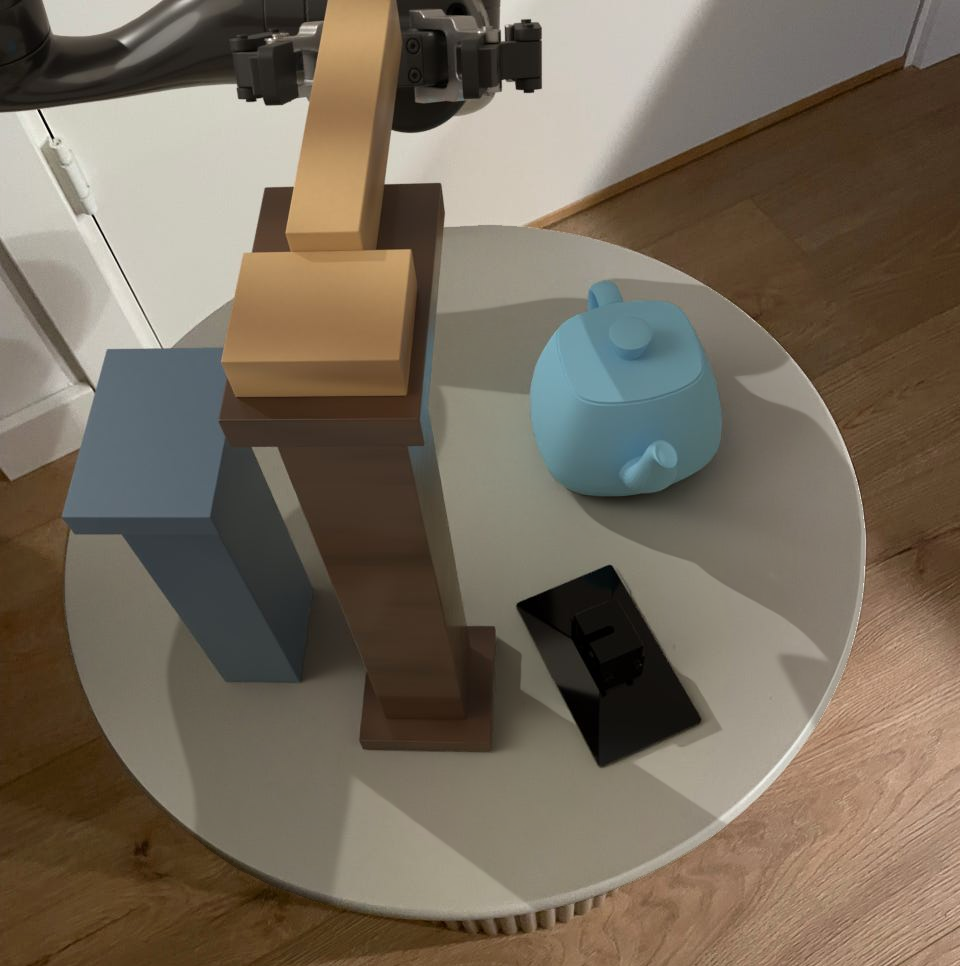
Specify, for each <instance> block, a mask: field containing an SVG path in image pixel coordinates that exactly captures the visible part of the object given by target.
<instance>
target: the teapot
mask: <svg viewBox="0 0 960 966" xmlns="http://www.w3.org/2000/svg"><path fill="white" fill-rule="evenodd" d="M623 299H624V298H623V296H622V293H621V291H620V289H619V286H618V285H617V284H616V283H615V282H614V281H612V280H600V281H597V282H594V283H593V284H592V285H590V287H589V288H588V291H587V310H586V311H583V312H581V313H578V314H576V315H573V316H572V317H569V318H568V319H567V320H565V321H564V322H563V323H561V325H559V327H557V329H556V330H555V332H554V333H553V334H552V335H551V337H550V339H549V340H548V341H547V343H546V345H545V346H544V348H543V350H542V351H541V353H540V355H539V358H538V359H537V361H536V364H535V367H534V369H533V376H532V379H531V383H530V390H529V413H530V419H531V421H530V422H531V427H532V432H533V436H534V440H535V444H536V446H537V448H538V451H539V453H540V455H541V458H542V461H543V463H544V464H545V466H546V469H547V470H548V472H549V474H550V475H551V476H552V478H553V479H555V481H556V482H558V483H559V484H561V485H562V486H563V487H564V488H566V489H567V490H570V491H572V492H573V493H577V494H580V495H585V496H593V497H626V496H635V495H640V494H652V493H656V492H661V491H663V490H666V489H667V488H669V487H670V486H671V485H673V484H676V483H678V482H680V481H682V480H684V479H686V478H688V477H690V476H691V475H694V474H695V473H697V472H698V471H700V470H702V469H703V468H704V467H705V466H707V464H709V463H710V462H711V461H712V459H713V457H714V456H715V455H716V454H717V452H718V449H719V447H720V446H721V445H720V444H721V439H722V430H723V415H722V408H721V400H720V396H719V395H720V394H719V391H718V386H717V381H716V378H715V374H714V371H713V368H712V365H711V362H710V360H709V358H708V355H707V353H706V351H705V348H704V346H703V343H702V342H701V340H700V338H699V335H698V334H697V332H696V330H695V328H694V327H693V325H692V322H691V321H690V319H689V317H688V315H687V314H686V313H685V311H684V310H683V309H682V308H681V307H680V306H678V305H676V304H674V303H672V302H669V301H663V300H654V299H652V300H650V299H649V300H645V299H643V300H629V301H628V300H627V301H624V300H623Z"/></svg>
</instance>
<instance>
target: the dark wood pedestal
mask: <svg viewBox="0 0 960 966" xmlns="http://www.w3.org/2000/svg"><path fill="white" fill-rule="evenodd" d="M293 189H294V186H267V187H264V188H263V194H262V198H261V204H260V208H259V213H258V217H257V218H258V219H257V224H256V229H255V234H254V239H253V244H252V248H251V253H259V252H291V250H290V247H289V243H288V240H287V237H286V227H287V222H288V216H289V211H290V205H291V200H292V195H293ZM445 218H446V210H445V201H444V194H443V185H442V183H441V182H419V183H418V182H416V183H385V184H384V192H383V200H382V208H381V216H380V224H379V232H378V240H377V247H376V250H402V249H411V250H412V256H413V262H414V268H415V274H416V280H417V286H418V290H417V300H416V310H415V320H414V330H413V340H412V350H411V360H410V370H409V380H408V390H407V395H406V396H312V397H236V396H235V394H234V392H233V389H232V387H231V384H230V382H229V380H228V377H227V378H226V383H225V388H224V393H223V398H222V403H221V408H220V413H219V418H218V422H219V425H220V427H221V429H222V431H223V433H224V435H225V437H226V440H227V442H228V444H229V446H230V447H252V448H277V450H278V453H279V455H280V458H281V460H282V463H283V465H284V468H285V470H286V473H287V475H288V478H289V480H290V483H291V485H292V488H293V491H294V493H295V495H296V498H297V500H298V503H299V504H300V508H301V510H302V513H303V516H304V518H305V520H306V523H307V525H308V529H309V530H310V533H311V535H312V538H313V540H314V543H315V545H316V548H317V550H318V553H319V555H320V558H321V561H322V563H323V565H324V569H325V570H326V573H327V576H328V578H329V580H330V582H331V585H332V586H331V587H332V588H333V590H334V593H335V595H336V598H337V600H338V604H339V606H340V608H341V610H342V613H343V616H344V618H345V620H346V622H347V625H348V628H349V631H350V633H351V636H352V638H353V640H354V643H355V645H356V648H357V650H358V653H359V655H360V658H361V661H362V663H363V666H364V668H365V679H364V686H363V687H364V688H363V697H362V706H361V717H360V724H359V725H360V726H359V735H358V736H359V737H358V742H359V744H360V747H361V748H362V750H364V751H366V750H367V751H409V752H411V751H415V752H416V751H417V752H458V753H459V752H462V753H463V752H464V753H465V752H467V753H468V752H469V753H492V746H493V726H494V725H493V724H494V703H495V702H494V701H495V681H496V680H495V679H496V678H495V677H496V659H497V658H496V657H497V630H496V626H495V625H467V619H466V615H465V608H464V603H463V598H462V592H461V586H460V580H459V575H458V570H457V564H456V557H455V552H454V547H453V541H452V535H451V530H450V524H449V518H448V512H447V507H446V501H445V495H444V491H443V485H442V479H441V473H440V469H439V461H438V456H437V451H436V444H435V439H434V434H433V428H432V422H431V417H430V410H429V400H430V390H431V379H432V367H433V357H434V356H433V355H434V344H435V333H436V332H435V331H436V321H437V311H438V297H439V288H440V287H439V286H440V274H441V263H442V253H443V240H444V232H445V231H444V230H445Z"/></svg>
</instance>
